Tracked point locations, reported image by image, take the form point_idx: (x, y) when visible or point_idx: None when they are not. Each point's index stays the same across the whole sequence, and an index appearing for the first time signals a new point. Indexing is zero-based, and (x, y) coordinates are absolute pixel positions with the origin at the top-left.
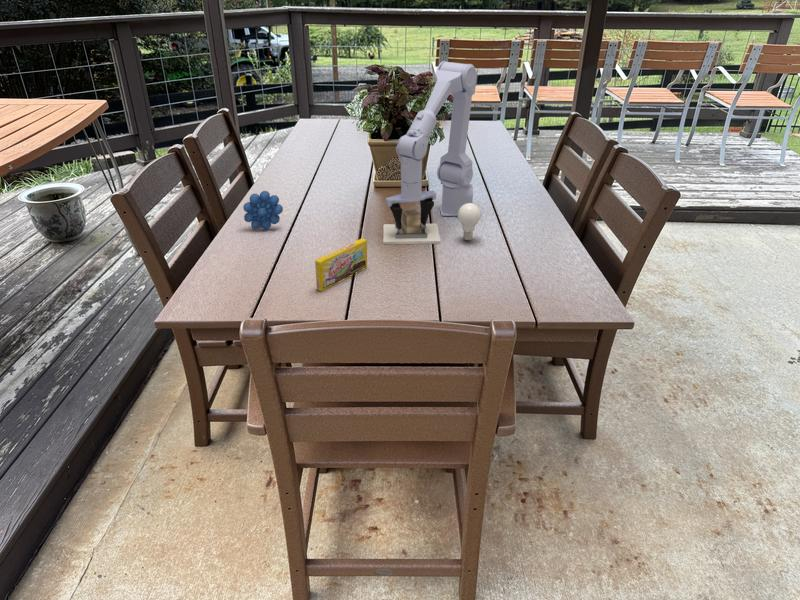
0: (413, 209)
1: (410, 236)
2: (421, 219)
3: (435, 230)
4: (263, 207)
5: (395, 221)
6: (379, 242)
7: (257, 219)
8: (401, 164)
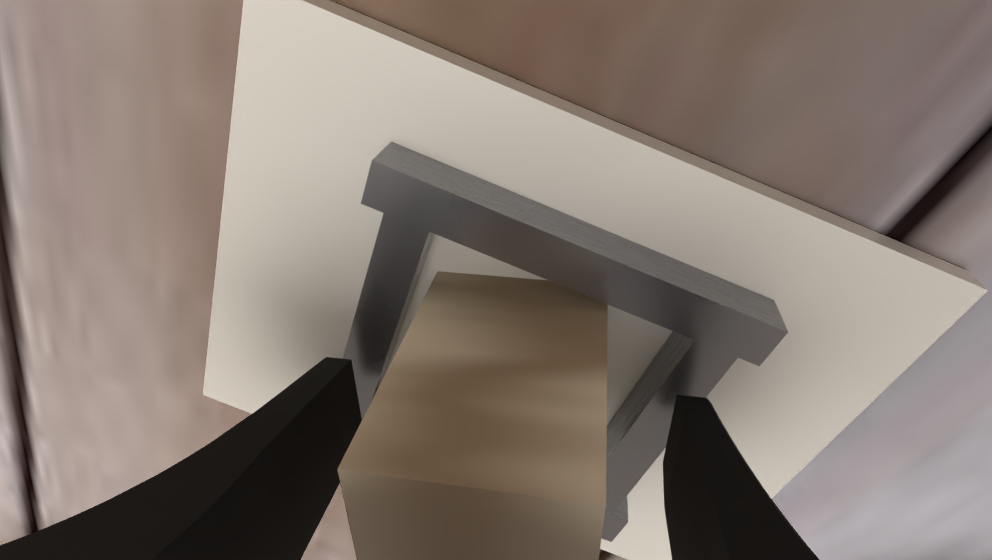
0: (578, 504)
1: None
2: (678, 450)
3: (802, 428)
4: None
5: (280, 396)
6: (187, 332)
7: None
8: None
